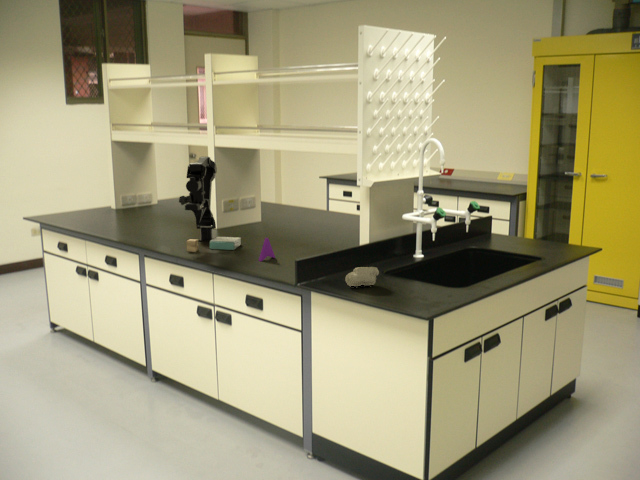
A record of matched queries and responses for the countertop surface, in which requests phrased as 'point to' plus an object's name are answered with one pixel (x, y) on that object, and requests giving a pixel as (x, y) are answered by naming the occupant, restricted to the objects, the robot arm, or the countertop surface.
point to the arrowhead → (266, 250)
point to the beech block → (192, 245)
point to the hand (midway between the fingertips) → (198, 222)
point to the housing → (228, 240)
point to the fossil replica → (362, 276)
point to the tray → (222, 245)
